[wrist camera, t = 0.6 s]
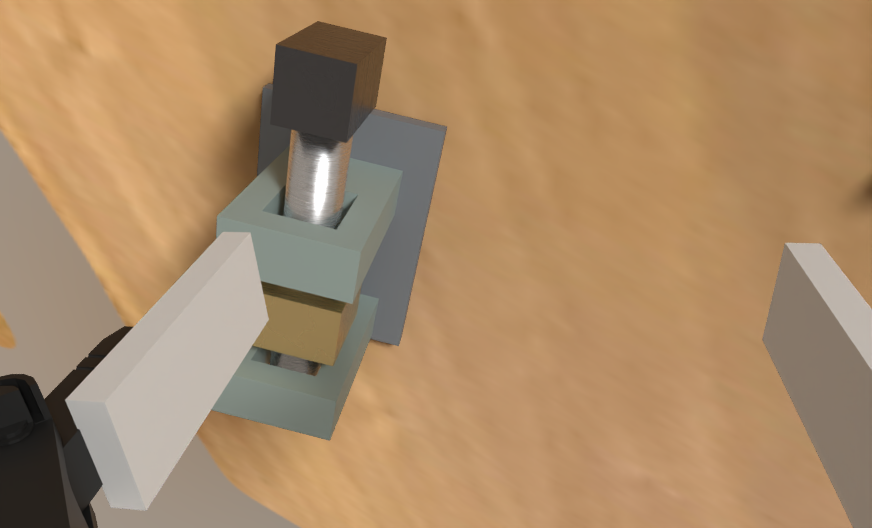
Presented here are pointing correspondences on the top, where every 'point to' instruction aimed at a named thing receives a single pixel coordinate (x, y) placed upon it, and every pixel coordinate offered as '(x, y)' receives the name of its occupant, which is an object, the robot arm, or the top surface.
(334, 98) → the shaft
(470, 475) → the top surface
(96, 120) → the top surface
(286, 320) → the spacer
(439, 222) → the top surface
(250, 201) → the bearing stand
